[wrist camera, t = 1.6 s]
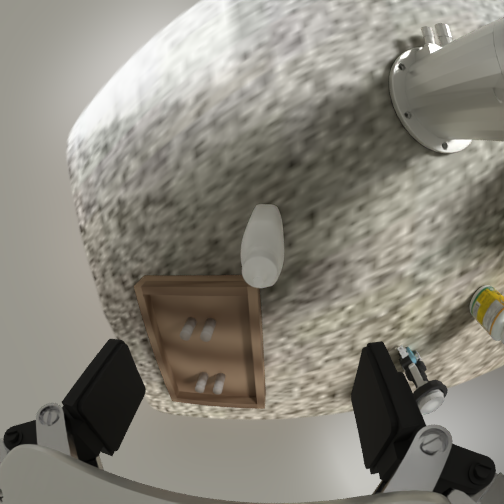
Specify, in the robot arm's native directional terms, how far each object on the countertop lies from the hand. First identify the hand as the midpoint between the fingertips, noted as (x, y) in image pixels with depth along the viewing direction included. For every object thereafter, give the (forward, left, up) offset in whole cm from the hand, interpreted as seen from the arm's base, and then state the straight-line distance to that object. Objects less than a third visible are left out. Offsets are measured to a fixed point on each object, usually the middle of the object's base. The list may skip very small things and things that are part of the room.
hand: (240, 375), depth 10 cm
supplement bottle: (+11, +32, -20) cm, 39 cm away
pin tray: (+15, -8, -20) cm, 26 cm away
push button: (+19, +20, -20) cm, 34 cm away
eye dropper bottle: (0, 0, -20) cm, 20 cm away
